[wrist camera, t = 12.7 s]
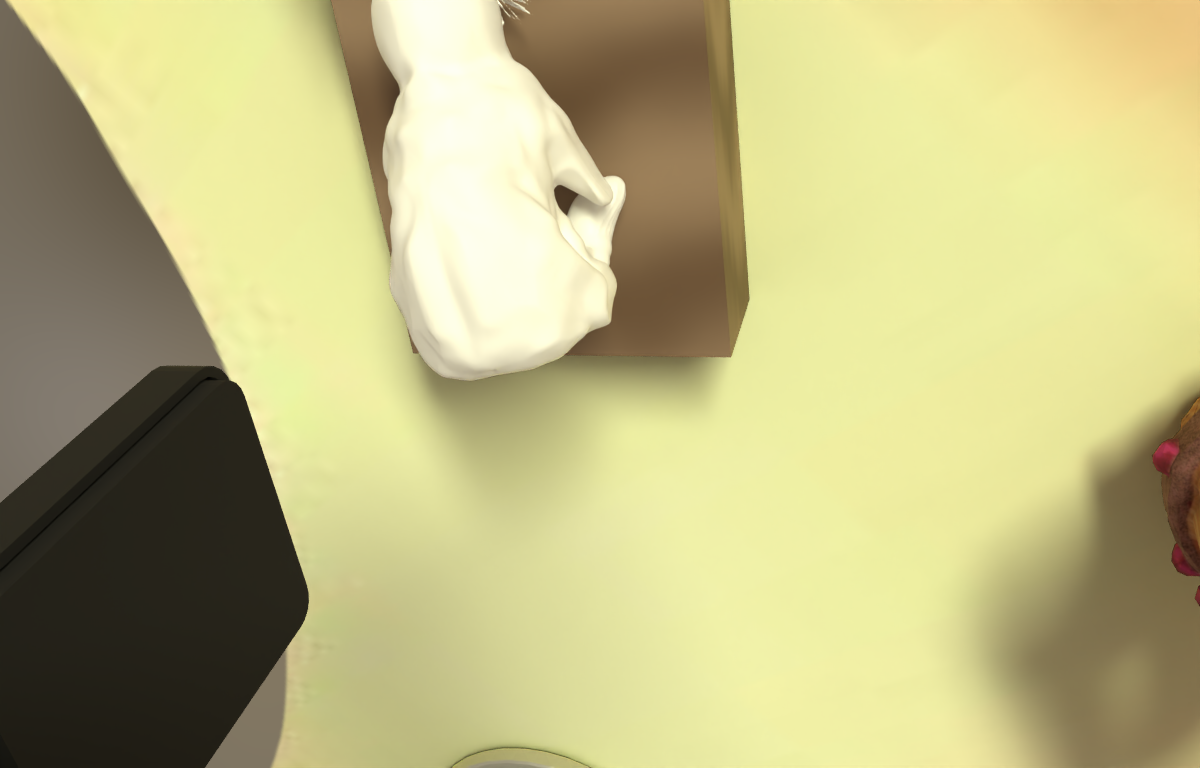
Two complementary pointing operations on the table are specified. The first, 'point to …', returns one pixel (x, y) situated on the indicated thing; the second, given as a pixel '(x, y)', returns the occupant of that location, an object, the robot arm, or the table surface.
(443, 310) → the white animal figurine
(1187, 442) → the mug
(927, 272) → the table surface
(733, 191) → the display ledge
